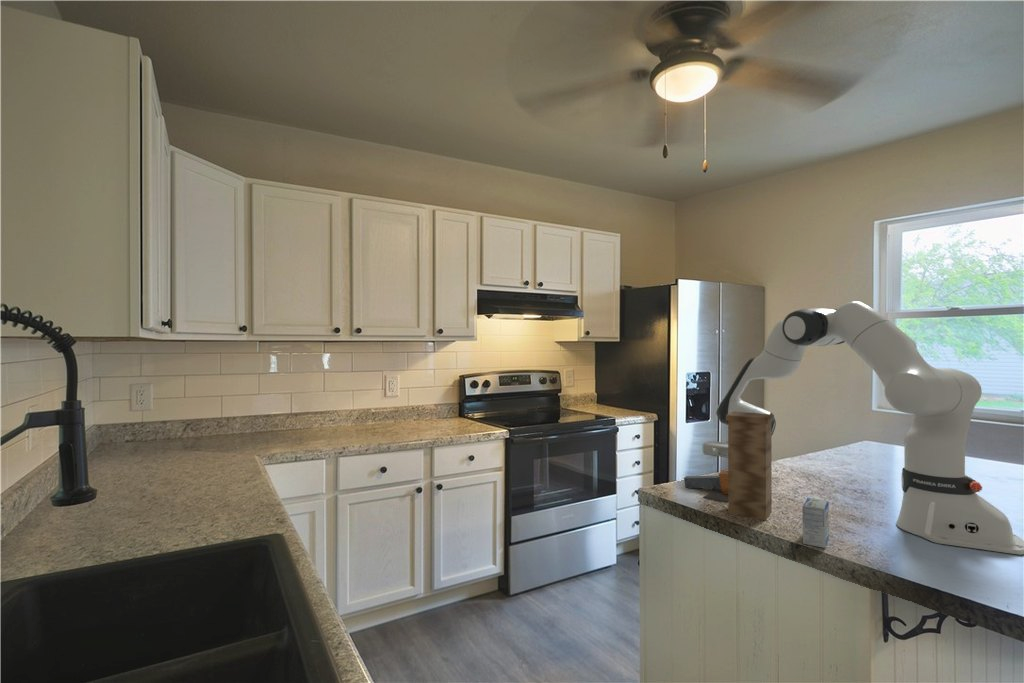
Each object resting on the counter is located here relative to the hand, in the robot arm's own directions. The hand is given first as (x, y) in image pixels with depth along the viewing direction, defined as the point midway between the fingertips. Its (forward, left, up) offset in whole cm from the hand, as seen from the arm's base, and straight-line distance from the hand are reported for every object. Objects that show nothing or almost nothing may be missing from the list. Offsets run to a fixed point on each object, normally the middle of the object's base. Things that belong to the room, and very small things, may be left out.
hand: (730, 455), depth 151 cm
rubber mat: (0, +5, -11) cm, 12 cm away
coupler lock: (+4, +3, -8) cm, 9 cm away
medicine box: (-25, +30, -11) cm, 41 cm away
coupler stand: (-9, +19, -11) cm, 23 cm away
